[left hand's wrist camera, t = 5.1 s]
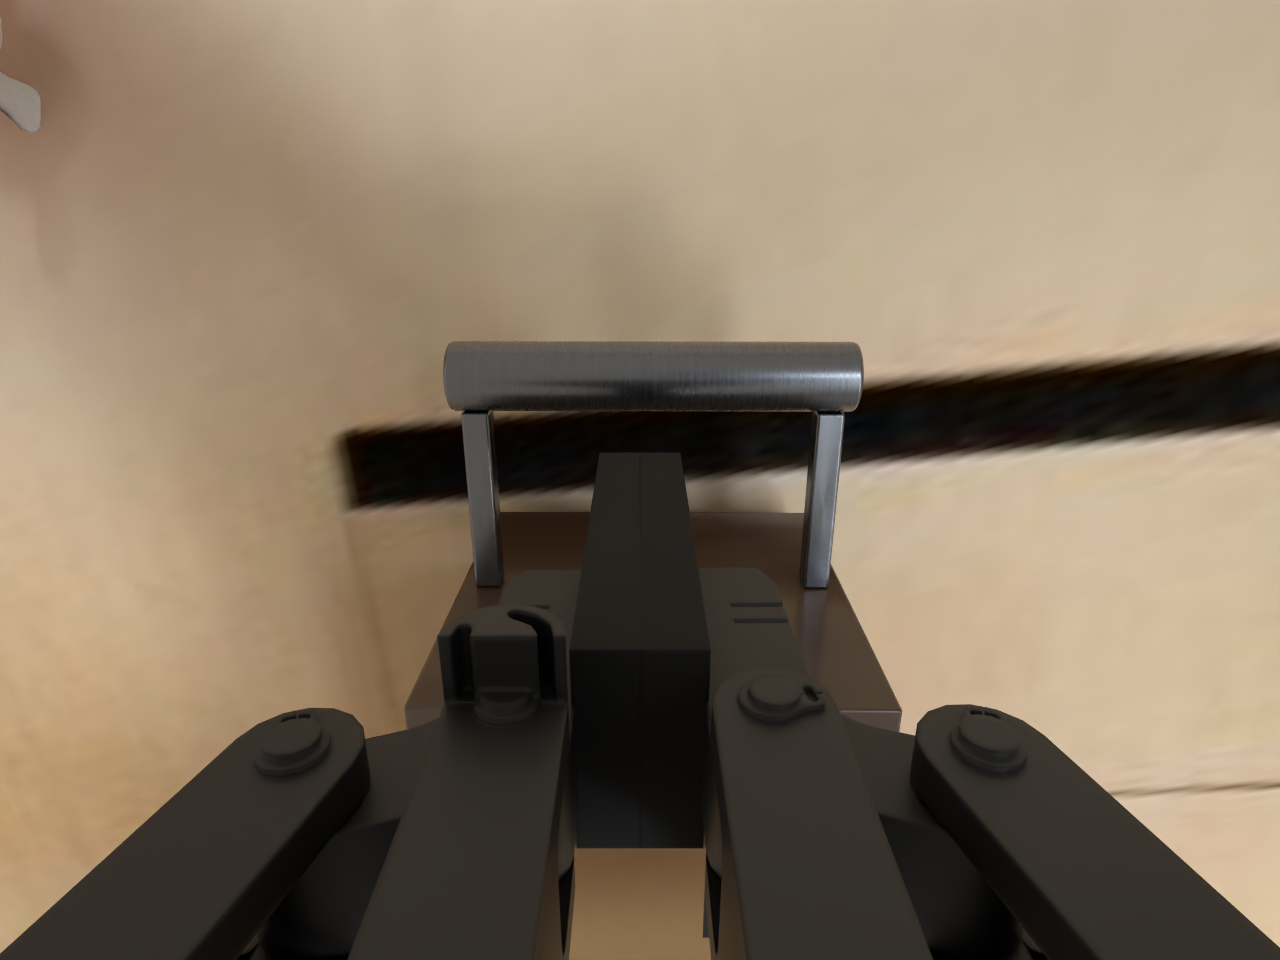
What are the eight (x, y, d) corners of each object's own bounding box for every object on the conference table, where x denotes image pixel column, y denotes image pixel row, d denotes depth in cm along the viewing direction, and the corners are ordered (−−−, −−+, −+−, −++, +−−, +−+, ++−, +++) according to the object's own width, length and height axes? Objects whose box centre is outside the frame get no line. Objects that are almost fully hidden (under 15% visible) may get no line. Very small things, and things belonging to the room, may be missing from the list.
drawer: (481, 311, 20) (362, 399, 12) (823, 312, 20) (948, 400, 12) (529, 970, 29) (480, 1291, 21) (768, 972, 29) (818, 1296, 20)
